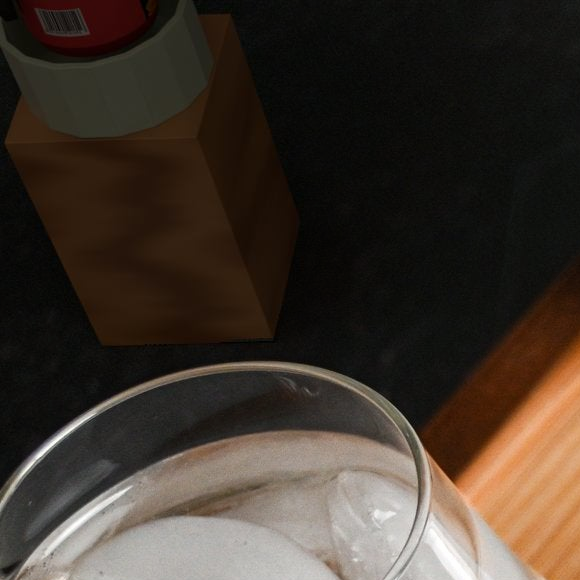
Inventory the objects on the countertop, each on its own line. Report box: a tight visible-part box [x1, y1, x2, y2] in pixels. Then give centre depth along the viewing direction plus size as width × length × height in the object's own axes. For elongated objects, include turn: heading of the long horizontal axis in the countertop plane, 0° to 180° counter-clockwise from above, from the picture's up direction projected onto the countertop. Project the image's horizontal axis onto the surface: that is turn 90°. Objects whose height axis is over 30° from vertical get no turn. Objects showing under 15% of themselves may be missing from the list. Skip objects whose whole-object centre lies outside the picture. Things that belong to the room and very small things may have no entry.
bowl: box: [0, 0, 214, 138], centre depth 119 cm, size 12×12×5 cm
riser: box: [4, 13, 302, 347], centre depth 128 cm, size 12×12×17 cm
